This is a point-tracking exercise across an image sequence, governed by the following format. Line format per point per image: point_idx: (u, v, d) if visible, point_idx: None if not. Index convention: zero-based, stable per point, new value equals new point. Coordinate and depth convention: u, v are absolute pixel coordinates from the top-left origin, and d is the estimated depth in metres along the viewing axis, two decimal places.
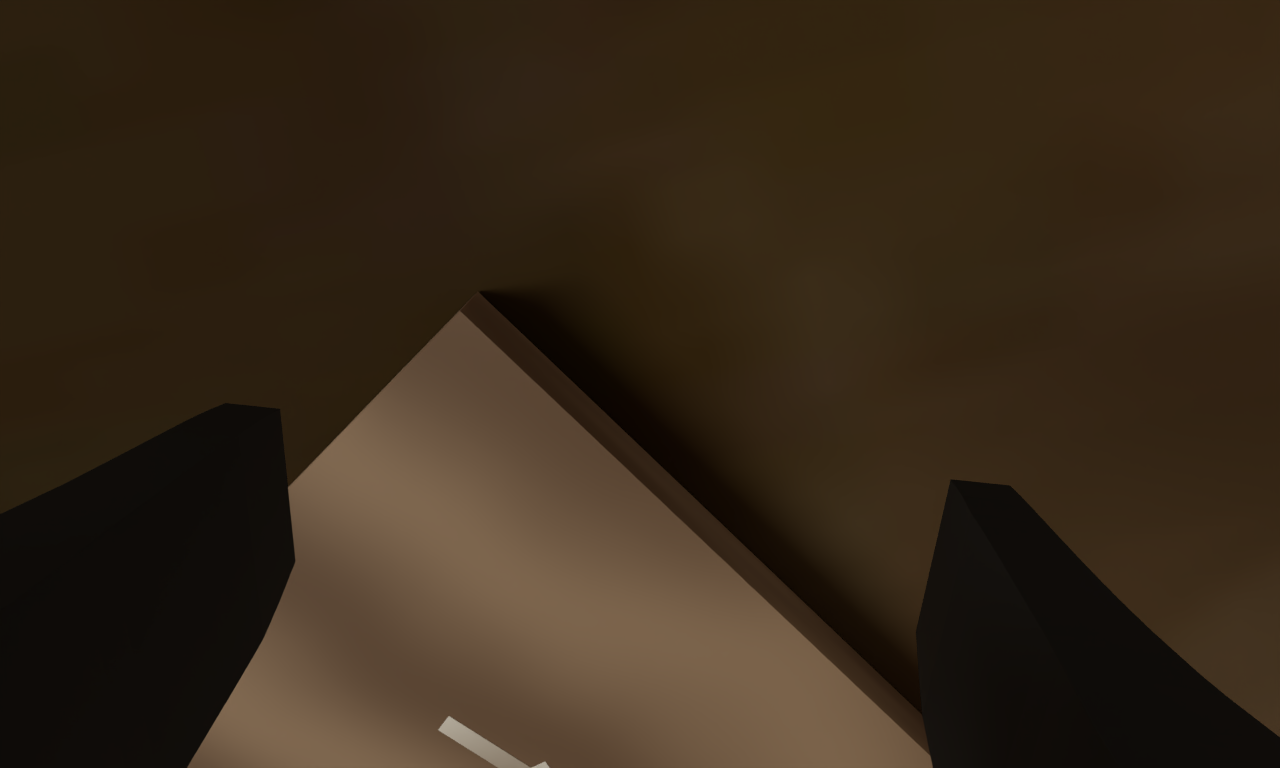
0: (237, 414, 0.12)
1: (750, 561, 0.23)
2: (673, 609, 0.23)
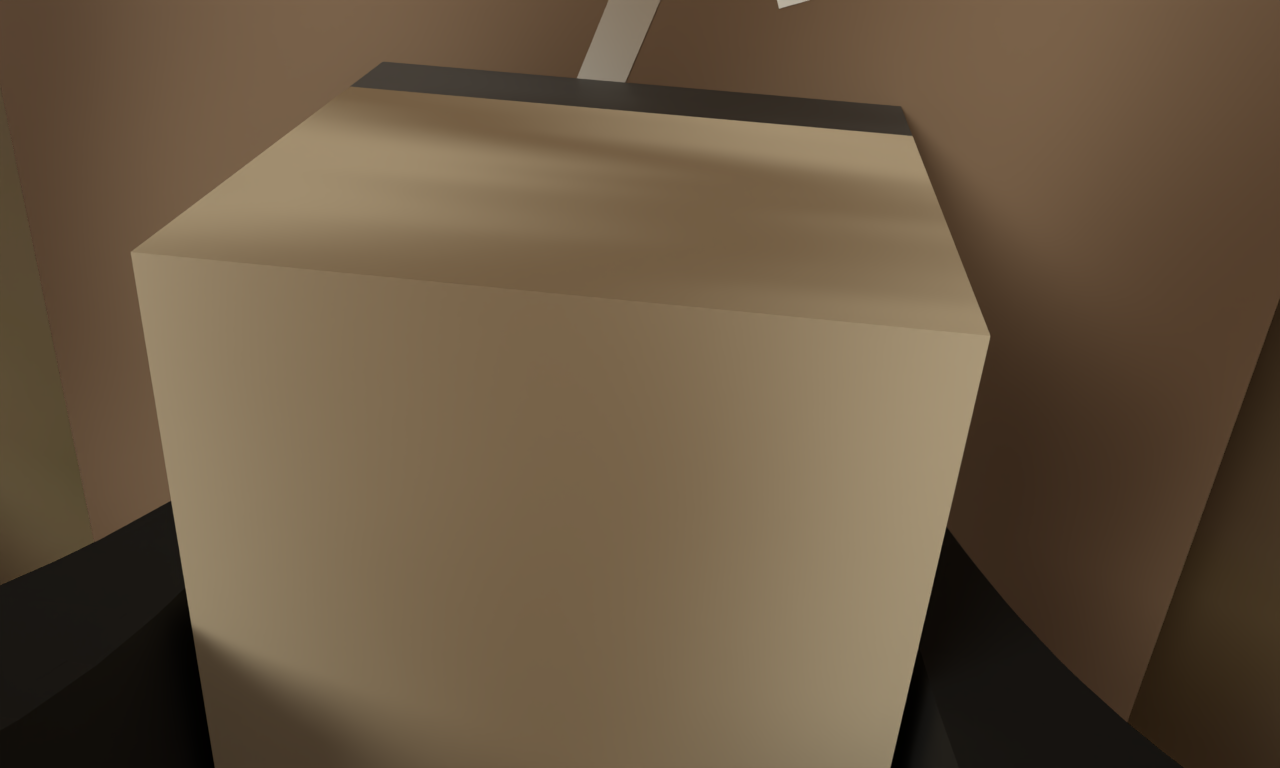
0: None
1: None
2: None
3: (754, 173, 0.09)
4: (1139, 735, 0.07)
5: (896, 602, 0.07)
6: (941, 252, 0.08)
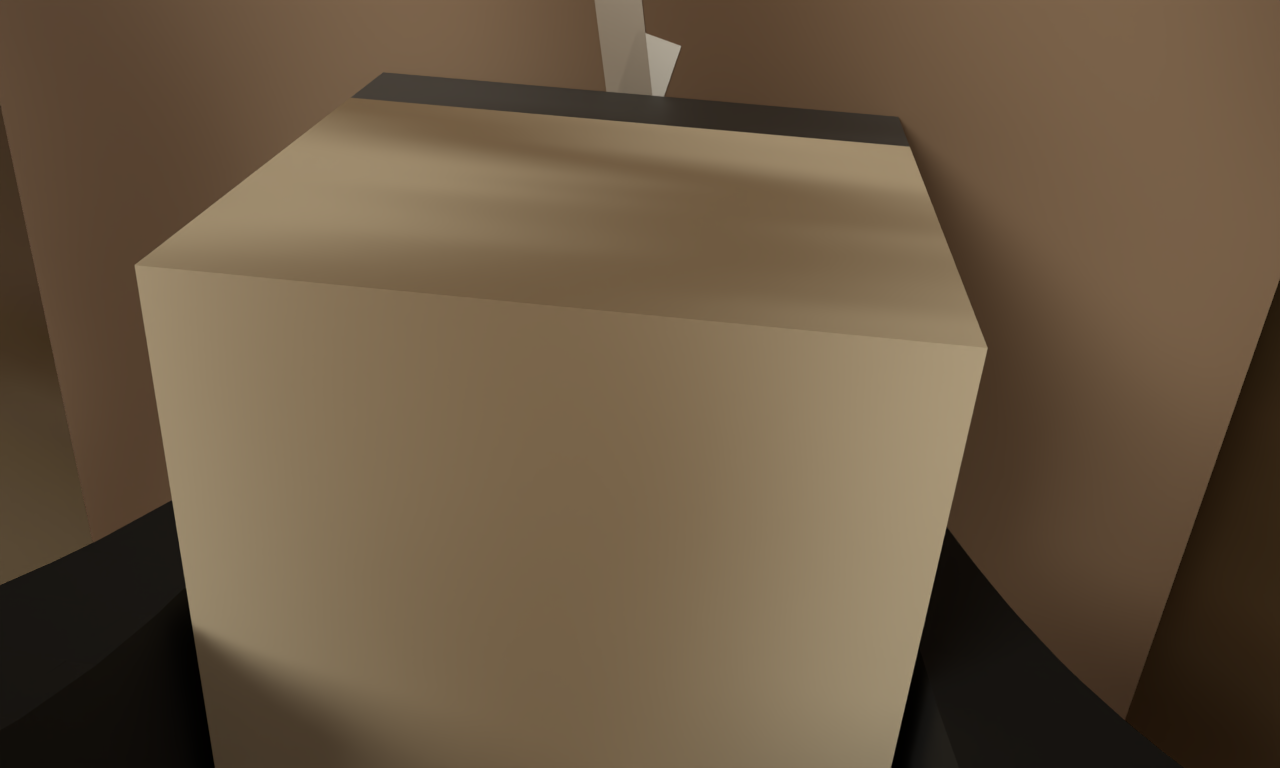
0: None
1: None
2: (1199, 2, 0.10)
3: (752, 185, 0.09)
4: (1139, 734, 0.07)
5: (894, 611, 0.07)
6: (938, 264, 0.08)
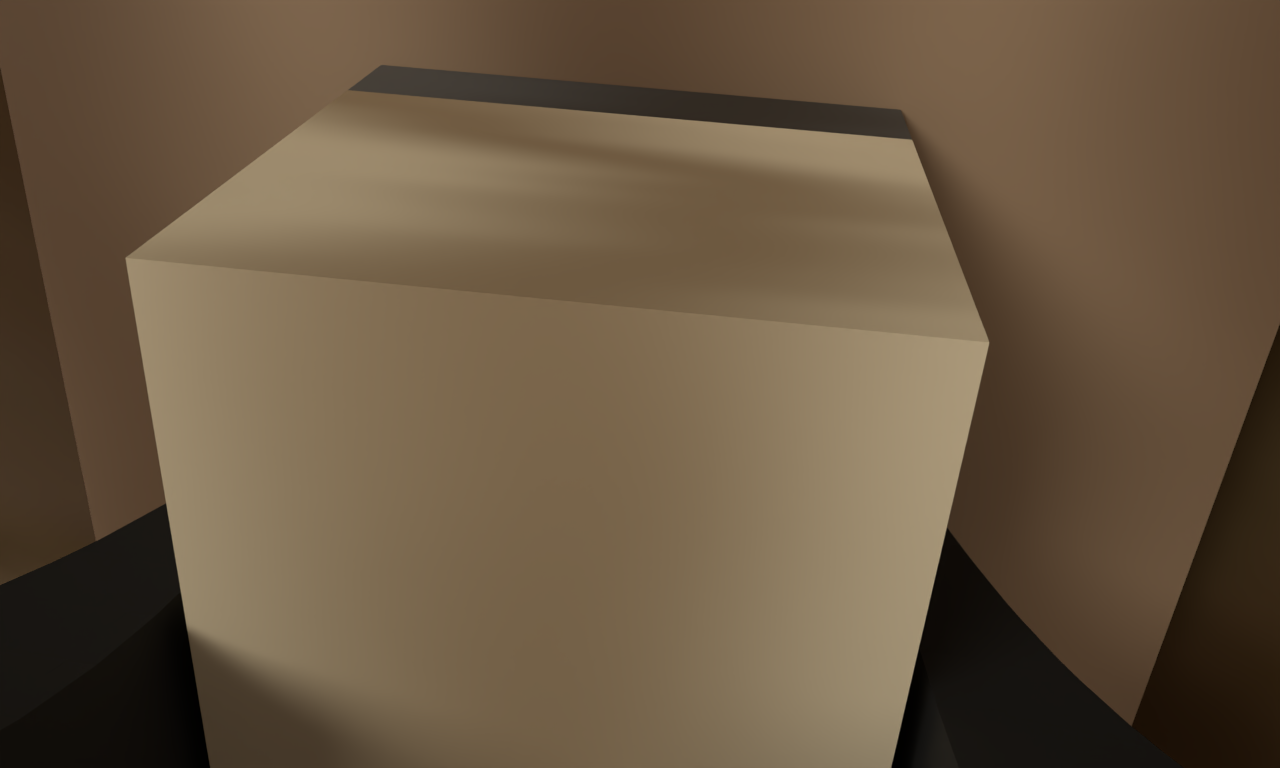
0: None
1: None
2: (1110, 367, 0.12)
3: (754, 176, 0.09)
4: (1139, 735, 0.07)
5: (895, 609, 0.07)
6: (940, 257, 0.07)
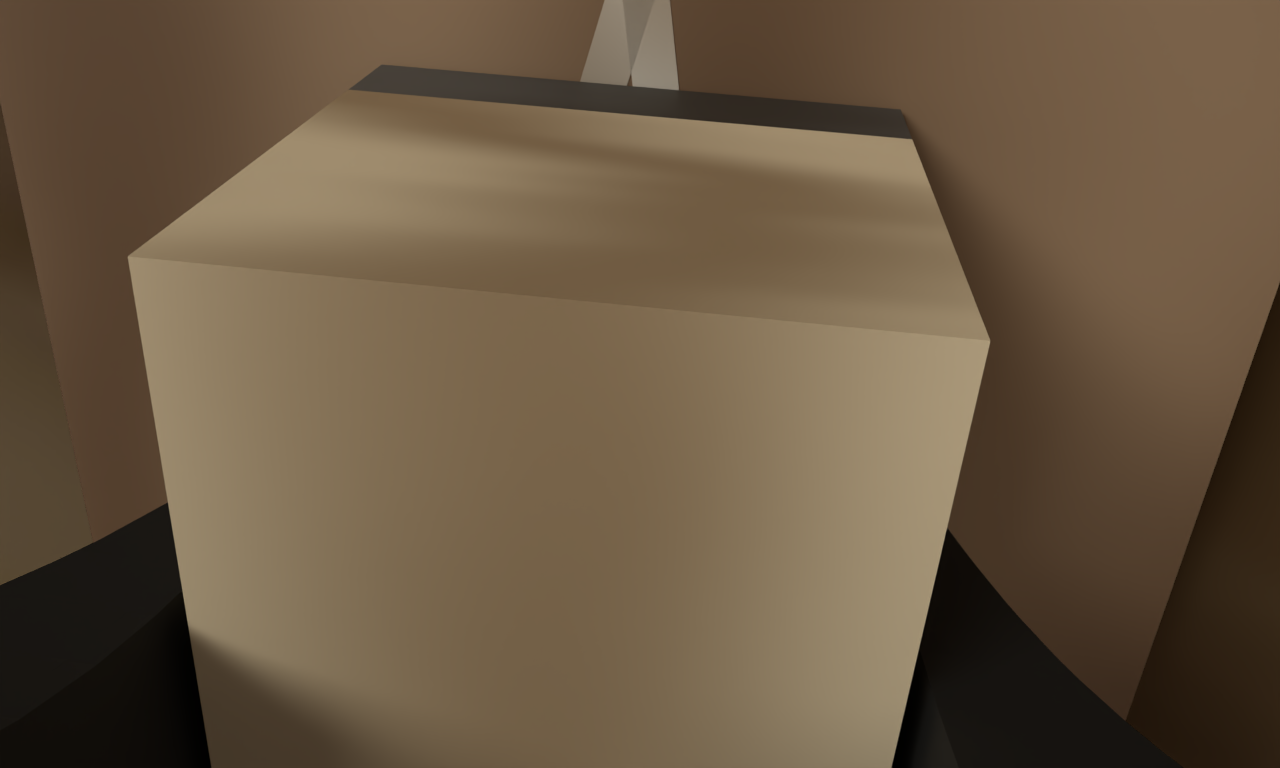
0: None
1: None
2: None
3: (753, 175, 0.09)
4: (1138, 735, 0.07)
5: (895, 607, 0.07)
6: (940, 256, 0.07)
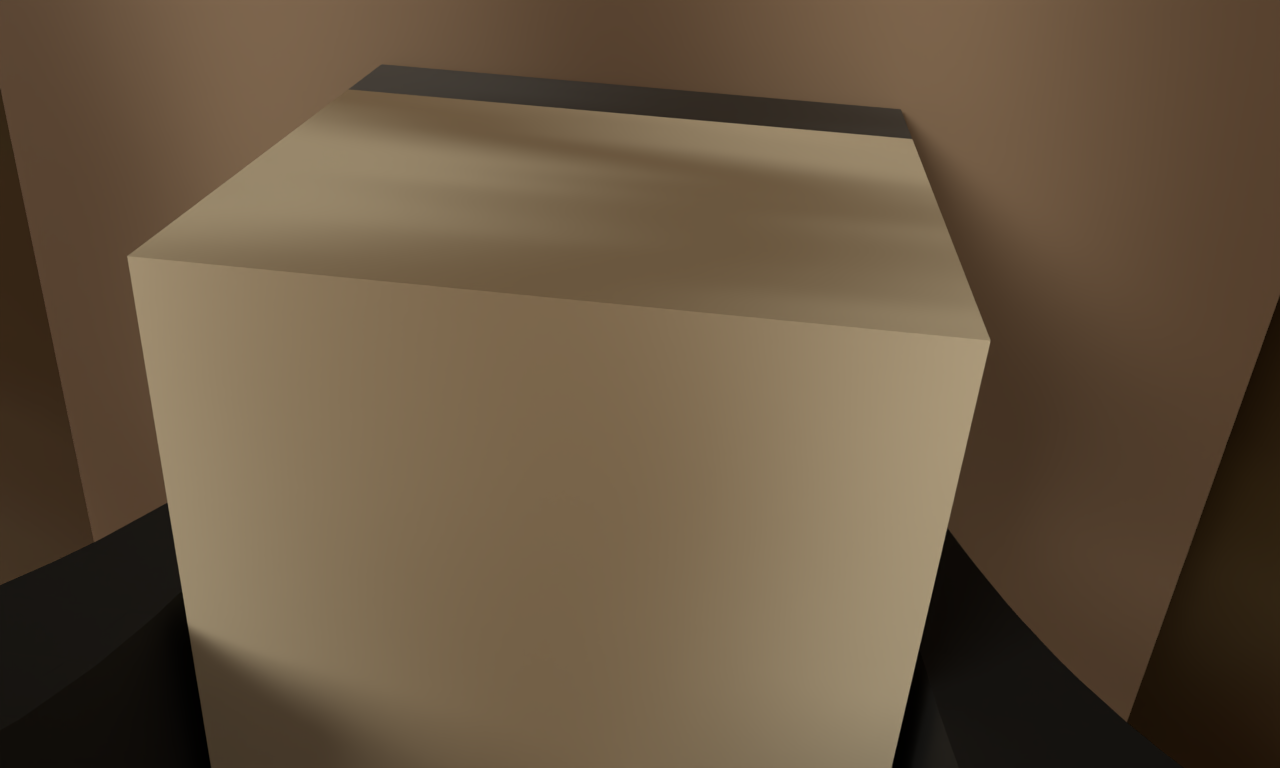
0: None
1: None
2: (1039, 586, 0.13)
3: (753, 176, 0.09)
4: (1138, 735, 0.07)
5: (896, 607, 0.07)
6: (941, 256, 0.07)
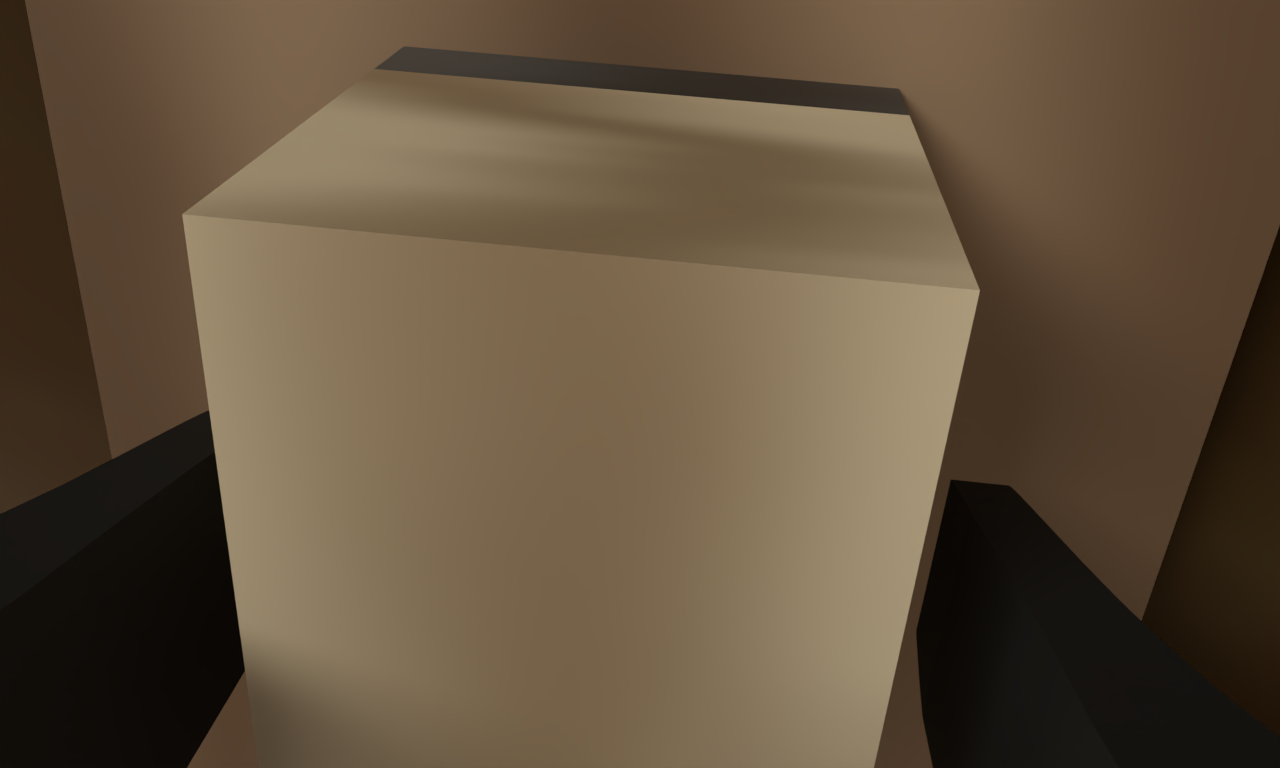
0: None
1: None
2: None
3: (760, 148, 0.09)
4: None
5: (892, 544, 0.08)
6: (935, 218, 0.08)
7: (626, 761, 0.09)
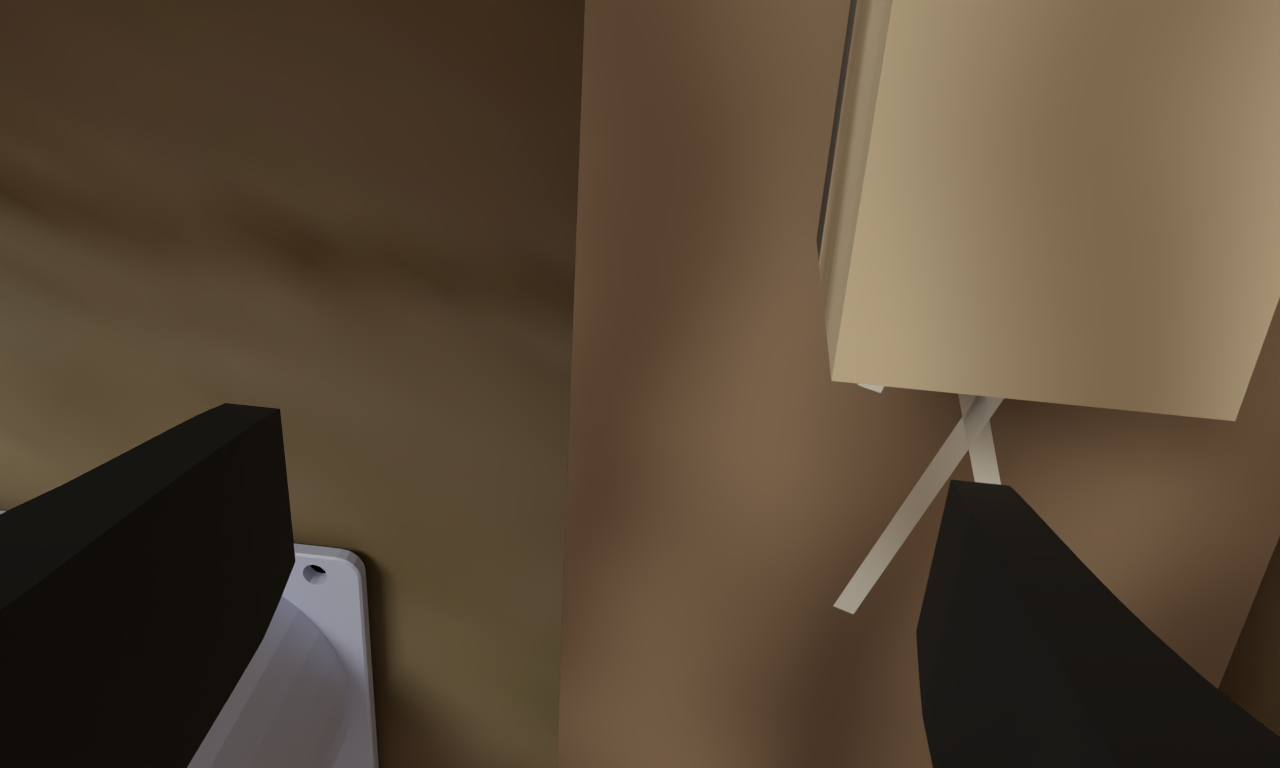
0: (237, 414, 0.12)
1: None
2: None
3: None
4: None
5: None
6: None
7: (1186, 20, 0.12)
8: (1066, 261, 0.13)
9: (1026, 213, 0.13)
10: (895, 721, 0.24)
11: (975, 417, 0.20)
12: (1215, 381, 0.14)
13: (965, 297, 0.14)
